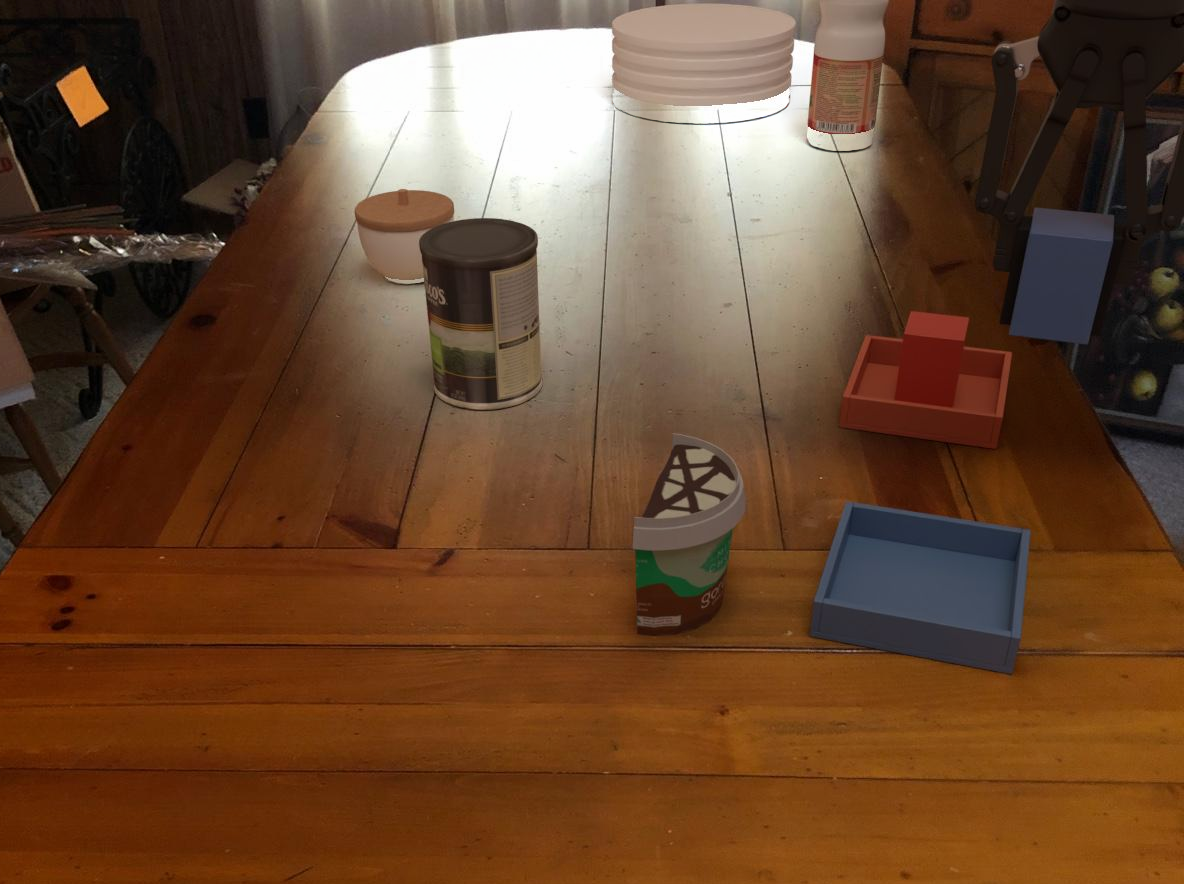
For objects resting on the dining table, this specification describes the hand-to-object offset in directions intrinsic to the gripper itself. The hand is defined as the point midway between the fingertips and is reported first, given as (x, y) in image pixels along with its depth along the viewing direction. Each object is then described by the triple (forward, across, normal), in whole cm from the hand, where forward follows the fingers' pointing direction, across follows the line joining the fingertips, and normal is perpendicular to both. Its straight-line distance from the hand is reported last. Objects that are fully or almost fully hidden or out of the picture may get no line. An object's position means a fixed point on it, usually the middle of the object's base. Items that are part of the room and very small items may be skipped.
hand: (1050, 321), depth 82 cm
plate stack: (+17, -55, +114) cm, 127 cm away
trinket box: (+18, -66, +34) cm, 76 cm away
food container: (+17, -20, -16) cm, 31 cm away
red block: (+17, -8, +19) cm, 27 cm away
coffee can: (+17, -47, +11) cm, 51 cm away
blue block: (0, 0, 0) cm, 0 cm away
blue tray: (+17, -5, -11) cm, 21 cm away
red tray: (+17, -8, +19) cm, 27 cm away
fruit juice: (+17, -30, +96) cm, 102 cm away
